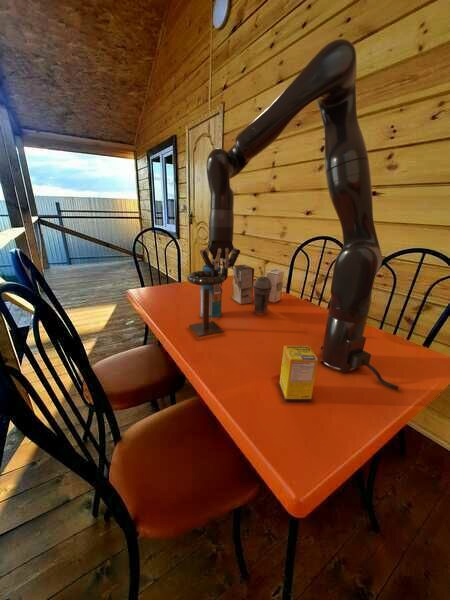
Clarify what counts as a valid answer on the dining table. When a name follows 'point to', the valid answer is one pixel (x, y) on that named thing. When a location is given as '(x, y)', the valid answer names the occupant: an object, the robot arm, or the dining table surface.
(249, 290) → the coffee box
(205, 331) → the stand
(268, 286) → the beverage cup
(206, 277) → the ring
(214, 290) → the beverage bottle
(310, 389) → the supplement box
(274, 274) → the syrup box
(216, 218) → the robot arm
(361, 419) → the dining table surface
